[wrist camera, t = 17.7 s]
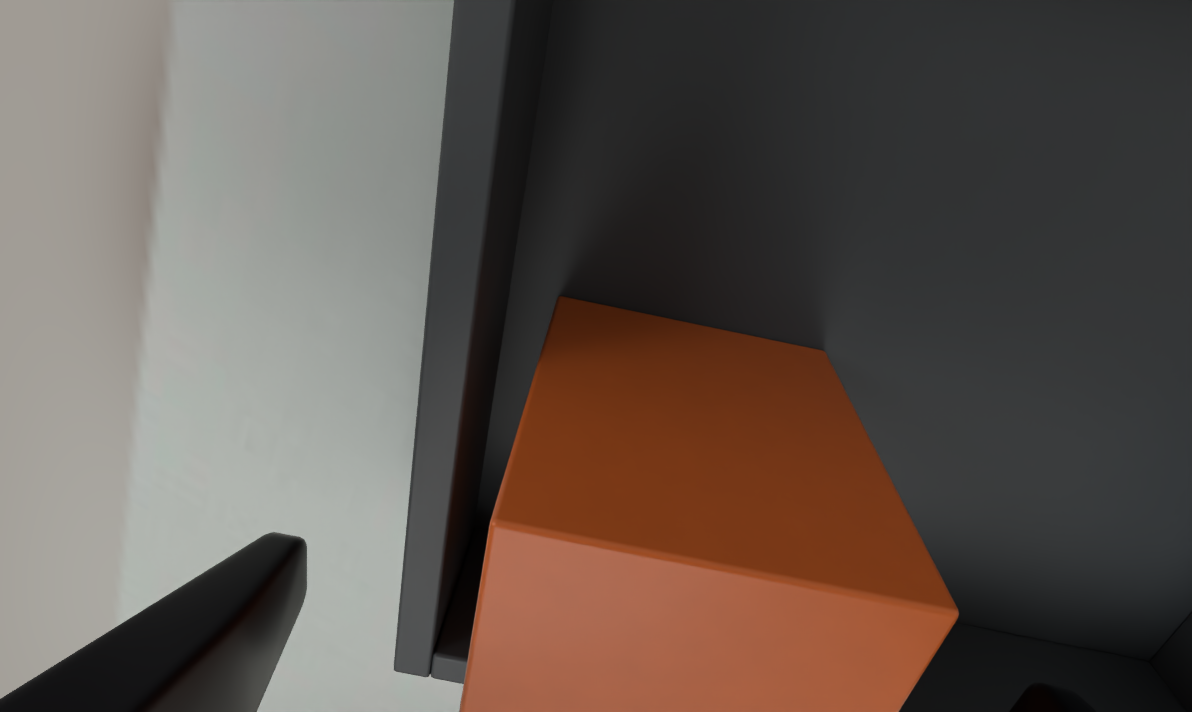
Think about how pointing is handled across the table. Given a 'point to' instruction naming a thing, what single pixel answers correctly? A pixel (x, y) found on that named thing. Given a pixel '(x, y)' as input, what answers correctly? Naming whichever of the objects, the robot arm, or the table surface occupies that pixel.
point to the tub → (852, 287)
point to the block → (696, 534)
